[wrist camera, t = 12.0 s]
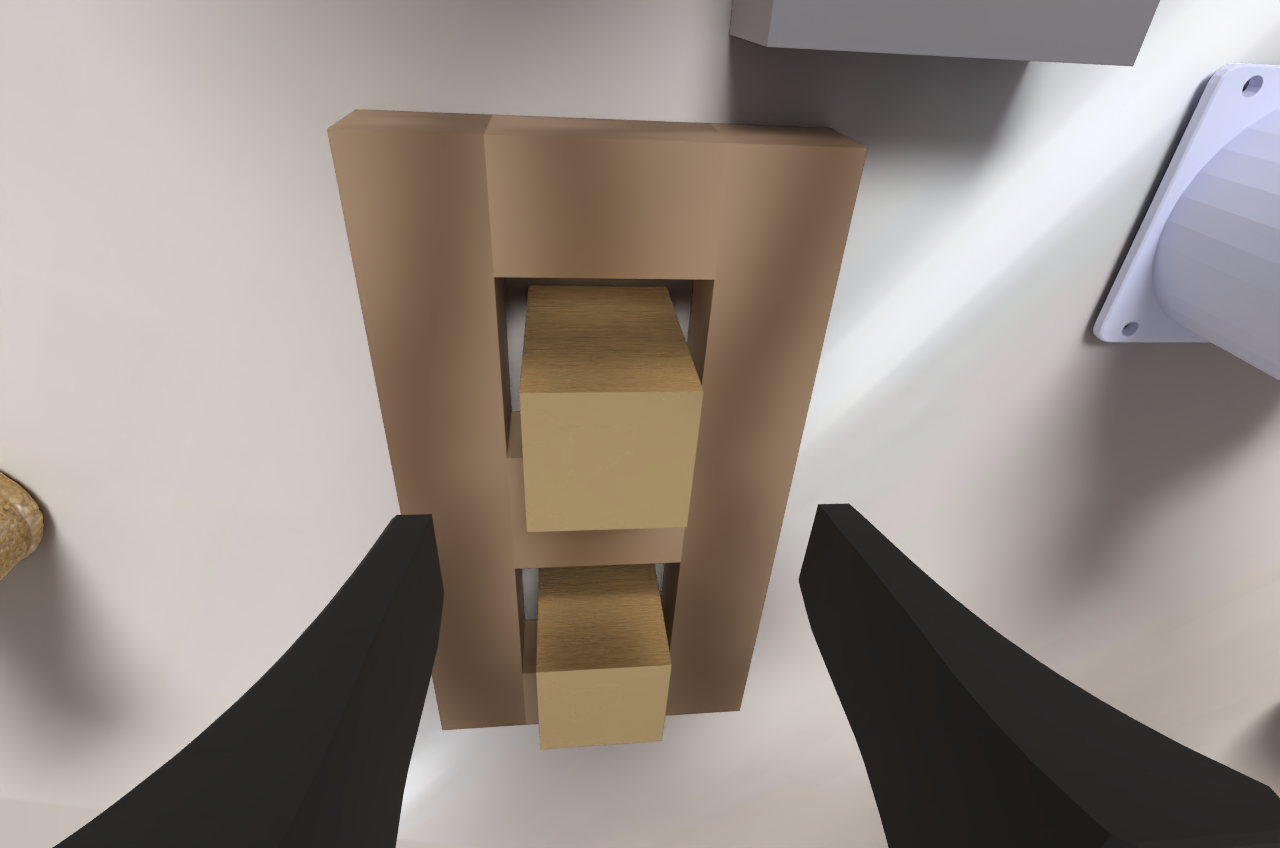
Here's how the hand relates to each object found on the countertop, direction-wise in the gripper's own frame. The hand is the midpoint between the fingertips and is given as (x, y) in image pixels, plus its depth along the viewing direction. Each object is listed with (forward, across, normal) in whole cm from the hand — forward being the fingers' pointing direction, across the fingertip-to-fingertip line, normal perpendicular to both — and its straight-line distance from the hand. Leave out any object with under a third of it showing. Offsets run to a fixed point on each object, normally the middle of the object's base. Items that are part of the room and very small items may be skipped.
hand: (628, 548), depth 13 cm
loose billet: (+9, 0, 0) cm, 9 cm away
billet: (+9, 0, +10) cm, 14 cm away
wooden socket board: (+9, 0, +5) cm, 10 cm away
